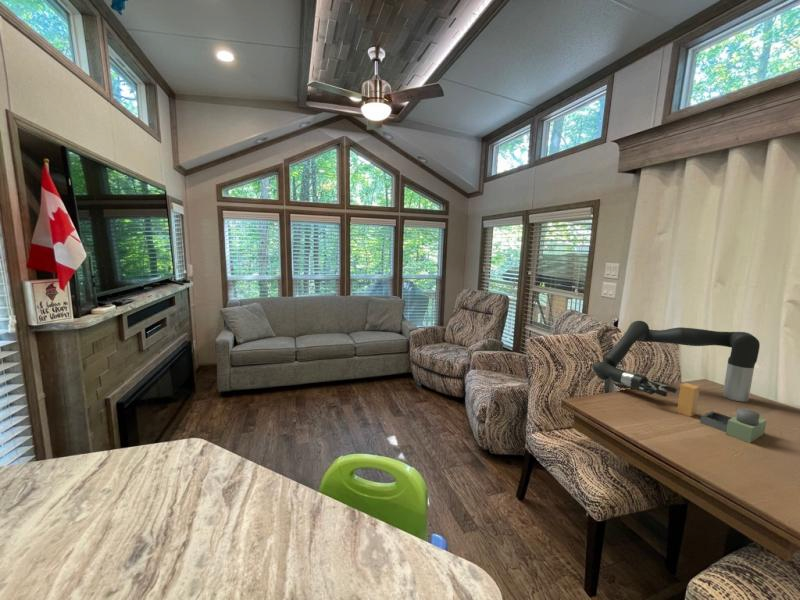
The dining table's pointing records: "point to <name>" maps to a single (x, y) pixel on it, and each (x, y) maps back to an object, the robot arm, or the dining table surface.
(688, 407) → the tall orange pillar
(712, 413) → the dark grey tray
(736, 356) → the robot arm
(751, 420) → the mower housing
